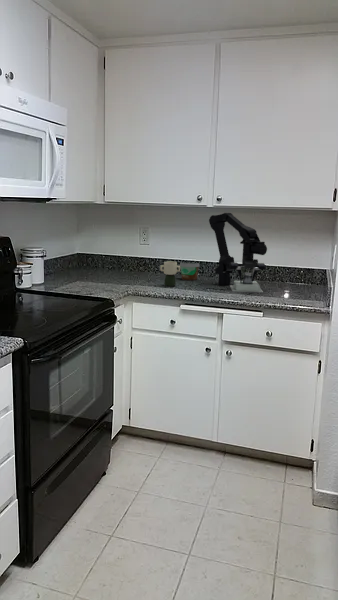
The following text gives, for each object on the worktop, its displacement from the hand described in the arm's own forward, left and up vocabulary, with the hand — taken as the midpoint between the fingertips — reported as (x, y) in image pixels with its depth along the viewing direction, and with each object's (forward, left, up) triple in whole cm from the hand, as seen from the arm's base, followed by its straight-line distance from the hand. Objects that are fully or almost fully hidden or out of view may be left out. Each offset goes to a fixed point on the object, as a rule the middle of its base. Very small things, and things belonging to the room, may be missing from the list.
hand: (246, 282), depth 263 cm
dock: (0, 0, -4) cm, 4 cm away
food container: (-31, +25, -4) cm, 40 cm away
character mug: (-41, +5, -4) cm, 42 cm away
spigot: (0, 0, -3) cm, 3 cm away
